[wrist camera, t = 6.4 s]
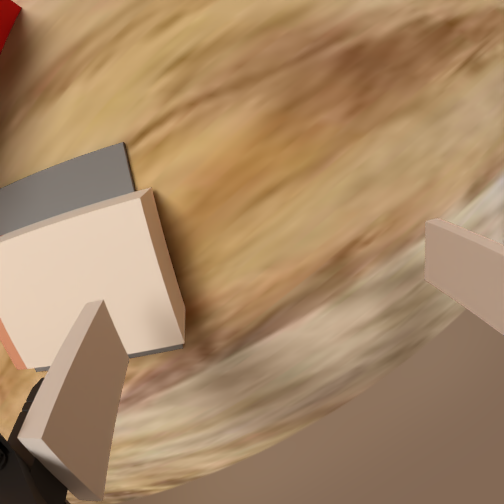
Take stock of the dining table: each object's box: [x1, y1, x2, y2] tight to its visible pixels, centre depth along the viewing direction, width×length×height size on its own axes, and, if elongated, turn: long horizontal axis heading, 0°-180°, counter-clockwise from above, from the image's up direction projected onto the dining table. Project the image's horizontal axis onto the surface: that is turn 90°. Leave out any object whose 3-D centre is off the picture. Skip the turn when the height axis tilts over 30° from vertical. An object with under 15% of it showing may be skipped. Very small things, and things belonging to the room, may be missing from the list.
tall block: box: [0, 187, 185, 370], centre depth 16 cm, size 4×8×12 cm
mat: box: [0, 142, 183, 372], centre depth 18 cm, size 13×14×1 cm
